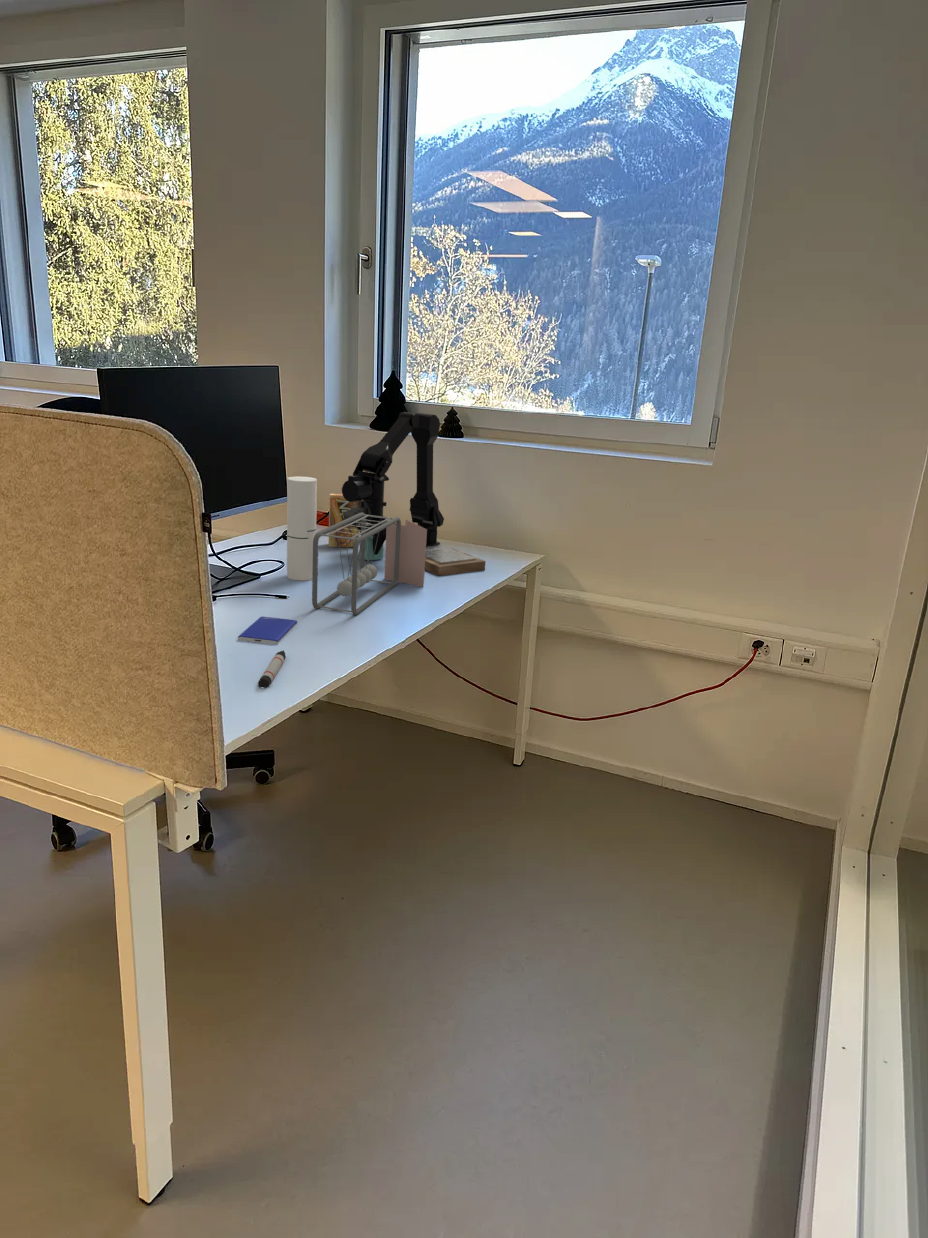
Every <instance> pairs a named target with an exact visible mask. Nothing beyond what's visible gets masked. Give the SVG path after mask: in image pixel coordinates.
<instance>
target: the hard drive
mask: <svg viewBox="0 0 928 1238" xmlns="http://www.w3.org/2000/svg"><path fill="white" fill-rule="evenodd" d="M297 626H298V621H297V620H295V619H288V618H279V617H269V616H260V617H259V618H257V619H255V621H254V622H253V623H252V624H251V625H250V626H248V627H247V628H246V629H244V631H243V632H241V633H240V634H239V635H238V636H237V640H238V641H243V642H253V643H261V644H267V645H268V644H270V645H277V646H278V645H279V644H280V643H281V642H282V641H283V640H284V639H285V638H286V637H287V636H288V635H289V633H290V632H292V631H293V630H294V629H295V628H296V627H297ZM294 627H295V628H294ZM293 628H294V629H293Z"/></svg>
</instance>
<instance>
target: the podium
mask: <svg viewBox="0 0 928 1238" xmlns="http://www.w3.org/2000/svg"><path fill="white" fill-rule="evenodd" d="M485 570H486V560H483V559H481V558H478V557H476V556H473V555H472V554H471V555H470V554H468V553H466V552H463V551H460V550H458V549H455V548H453V547H449V548H448V547H447V548H440V549H438V548H437V549H430V550H429V549H428V550H426V555H425V571H427V572H429V573H432V574H434V575H436V576H448V575H453V574H454V575H455V574H456V575H457V574H461V573H462V574H464V573H469V572H478V571H479V572H480V571H485Z"/></svg>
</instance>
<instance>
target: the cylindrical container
mask: <svg viewBox="0 0 928 1238" xmlns="http://www.w3.org/2000/svg"><path fill="white" fill-rule="evenodd" d="M286 479H287V480H286V481H287V482H286V483H287V484H286V496H287V497H286V505H287V507H286V526H287V527H286V530H287V531H286V534H287V535H286V577H287V579H289V580H293V581H312V571H313V539H314V536H315V534H316V533H317V504H318V503H317V501H318V499H317V498H318V497H317V493H318V489H317V487H318V479H317V478H316V477H311V476H295V475H294V476H289V477H287V478H286Z"/></svg>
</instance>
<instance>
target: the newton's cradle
mask: <svg viewBox="0 0 928 1238" xmlns="http://www.w3.org/2000/svg"><path fill="white" fill-rule="evenodd" d="M368 516H369V517H376V518H384V519H386V520H384V521H382V522H380V523H378V524H376V525H374V524H371V525H374V526H372V527H370V528H368V527H366V524H367V523H366V517H368ZM359 518H360V519H359ZM357 519H358V520H357ZM354 520H356V521H354ZM360 520H361V526H358V527H361V530H358V527H357V532H358V531H359V534H357V535H355V536H353V537H351V538H348V537H346V536H345V537H341V536H333V535H331V534H333V533H335V532H337V535H338V532H339V530H341V529H344V532H343V533H344V534H345V533H346V532H345V529H347V528H345V527H348V526H350V529H351V526H353V525H352V524H354V523H356V525H357V523H359V522H358V521H360ZM352 521H354V522H352ZM368 521H371V520H368ZM385 521H388V522H386V523H384V524H382V523H383V522H385ZM350 522H352V523H350ZM376 522H379V521H376ZM348 523H350V524H348ZM394 523H396V545H395V565H394V579H393V581H391V582H390V581H389V582H388V581H382V580H376V579H375V578H376V577H377V575H378V569H377V567H376V566H375V565H373V561H374V560H373V559H372V560H371V563H370V560H366V564H365V549H366V551H367V546H365V544H366V545H367V542H366V540H365V539H367V541H368V538H369V537H370V536H372V535H373V536H374V534H376V533H378V532H379V531H381V530H383V529H385V528H387V527H388V526H390V525H392V524H394ZM346 524H348V525H346ZM381 524H382V525H381ZM344 525H346V526H344ZM378 525H380V526H378ZM401 525H402V521H401V518H400V517H398V516H395V517H387V516H384V517H381V516H373V515H366V514H364V513H359V514H356V515H354V516H352V517H350V518H348V519H345V520H343V521H341V522H339V523H337V524H335V525H332V526H330V527H329V526H328V527H326V528H324V529H322V530H319V531H316V534H315V536H314V539H313V571H312V580H311V581H312V582H311V583H312V584H311V585H312V586H311V590H312V592H311V595H312V597H311V604H312V607H313V609H315V610H318V609H320V608H321V609H327V610H333V611H340V612H347V613H351V614H352V615H354V616H357V615H359V614H360V613H362V612H363V611H365V610H366V608H368V607H369V606H371V605H372V604H373V603H374V602H376V601H377V600H378V599H380V598H382V596H384V595H385V594H386V593H387V592H388V590H389V591H390V590H391V589H392V588H395V586H396V585H397V584H398V582H397V581H398V573H399V554H400V534H401ZM342 526H344V527H342ZM376 526H378V527H377V528H376ZM340 527H342V528H340ZM374 527H375V529H373V530H371V531H370V529H372V528H374ZM338 528H339V529H338ZM366 528H368V529H366ZM335 529H337V530H335ZM333 530H335V531H333ZM351 530H354V529H351ZM368 530H369V532H367V533H365V532H366V531H368ZM331 531H333V532H331ZM360 531H361V533H360ZM329 532H331V533H329ZM350 534H351V535H352V534H353V533H352V531H351V533H350ZM378 536H379V533H378ZM321 537H328V538H329V537H335V538H338V542H339V538H342V539H345V541H346V539H349V540H352V542H353V540H355V542H354V544H353V547H352V557H351V561H350V557H349V549H348V547H347V543H346V547H345V548H346V554H347V559H348V561H350V562H348V566H349V570H348V574H347V577H346V578H345V573H344V567H343V559H342V552H341V551H342V550H341V547H340V544H339V547H338V548H339V554H340V562H341V570H342V576H343V578H345V579H343V580H341V581H340V582H339V583H338V584H337V586H336V591H334V592H332V593H331V594H330V595H328V596H327V597H325V598H324V599H322V600H320V601H319V602H318V581H319V580H318V576H319V575H318V572H319V571H318V568H319V567H318V566H319V540H320V538H321ZM355 537H358V538H356V539H355ZM377 540H378V537H377ZM372 541H373V538H372ZM360 542H361V545H360ZM376 544H377V541H376ZM371 545H372V542H371ZM370 549H371V547H370ZM375 549H376V546H375ZM359 553H360V557H359ZM374 553H375V550H374ZM369 554H370V551H369ZM373 557H374V554H373ZM367 558H369V555H368V553H367ZM358 560H359V561H358ZM358 563H359V564H358ZM351 565H352V567H351ZM358 566H359V569H358ZM349 575H350V576H349ZM370 582H375V583H380V584H387V585H386V586H385V587H383V588H381V590H380V591H378V592H377V593H375V594H374V595H373V596H372V597H370V598H369V599H367V600H366V601H364V603H362V604H361V605H360V606H359V607H357V596H358V593H357V592H358V590H359V589H360V588H363V587H364V586H365V585H366V584H368V583H370ZM338 596H341V597H345V598H346V597H350V596H351V599H350V600H351V601H350V602H351V603H350V609H344V608H338V607H330V606H325V605H326V604H327V603H329V602H331V601H332V600H333V599H335V598H337V597H338ZM379 597H380V598H379Z"/></svg>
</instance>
